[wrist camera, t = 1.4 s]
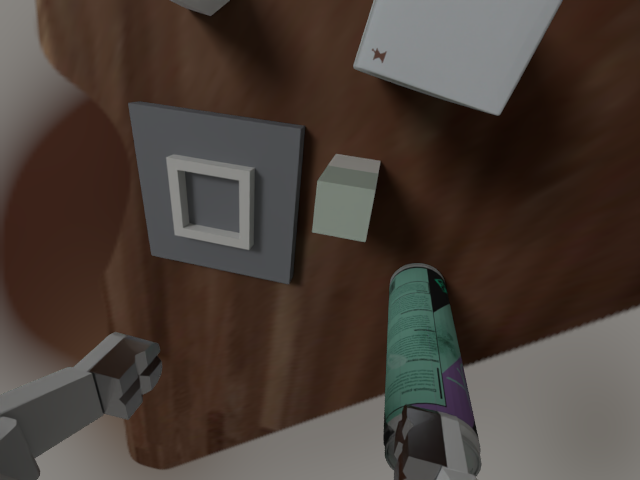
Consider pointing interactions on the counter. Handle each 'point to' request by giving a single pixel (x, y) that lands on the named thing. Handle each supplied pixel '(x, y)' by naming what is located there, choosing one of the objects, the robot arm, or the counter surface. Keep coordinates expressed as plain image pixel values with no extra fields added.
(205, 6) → the pepper shaker
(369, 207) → the block stack
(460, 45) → the supplement box
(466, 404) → the spray can
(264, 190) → the square peg socket board
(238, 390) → the counter surface
